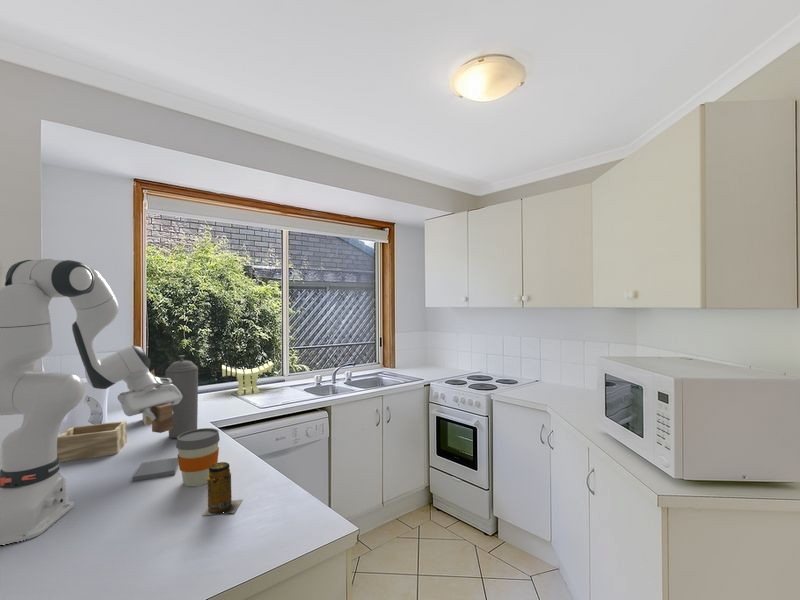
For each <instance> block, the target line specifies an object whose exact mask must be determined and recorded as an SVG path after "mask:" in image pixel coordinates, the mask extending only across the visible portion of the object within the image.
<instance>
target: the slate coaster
mask: <svg viewBox="0 0 800 600" xmlns="http://www.w3.org/2000/svg"><path fill="white" fill-rule="evenodd" d="M178 468H179V463H178V456H177V457H173V458H165V459H164V458H163V459H159V460H152V461H145V462H141V463H140V464H139V466H138V468H137V469H136V471H135V473H134V474H133V476H132V482H138V481H144V480H150V479H156V478H163V477H169V476H174V475H176V473H177V471H178Z"/></svg>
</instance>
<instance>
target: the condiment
mask: <svg viewBox="0 0 800 600" xmlns="http://www.w3.org/2000/svg"><path fill="white" fill-rule="evenodd" d="M232 498H233V497H232V473H231V469H230V463H228V462H227V461H225V462H224V461H221V462H217V463H215V464H213V465H211V466H210V467H209V476H208V483H207V508H206V510H205V511H204V512H203V513H202V516H215V515H216V516H217V515H226V514H227V515H228V514H235V513H236V511H237V510H238V509H239V507H240V506H241V503H242V502H243V499H234V500H232ZM223 512H224V513H223Z"/></svg>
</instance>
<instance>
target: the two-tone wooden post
mask: <svg viewBox="0 0 800 600" xmlns="http://www.w3.org/2000/svg"><path fill="white" fill-rule="evenodd" d="M150 373H151V374H153V375H154V377H156V374H155V369H153V370H151V371H150ZM151 412H152V411H151ZM141 414H142V415H141V416H142V422H143V425H144V426H148V425H152V420H151V419H150V418H149V417H147V416H145V415H144V414H143V413H141Z"/></svg>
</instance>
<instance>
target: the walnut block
mask: <svg viewBox="0 0 800 600" xmlns="http://www.w3.org/2000/svg"><path fill="white" fill-rule="evenodd" d="M152 413H154V414H157V416H158V418H157V420H154V421H152V424H151V432H152V433H158V434H162V433H165V432H167V431H168V432H169V430H172V404H161V405H157V406H153V407H152Z"/></svg>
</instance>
